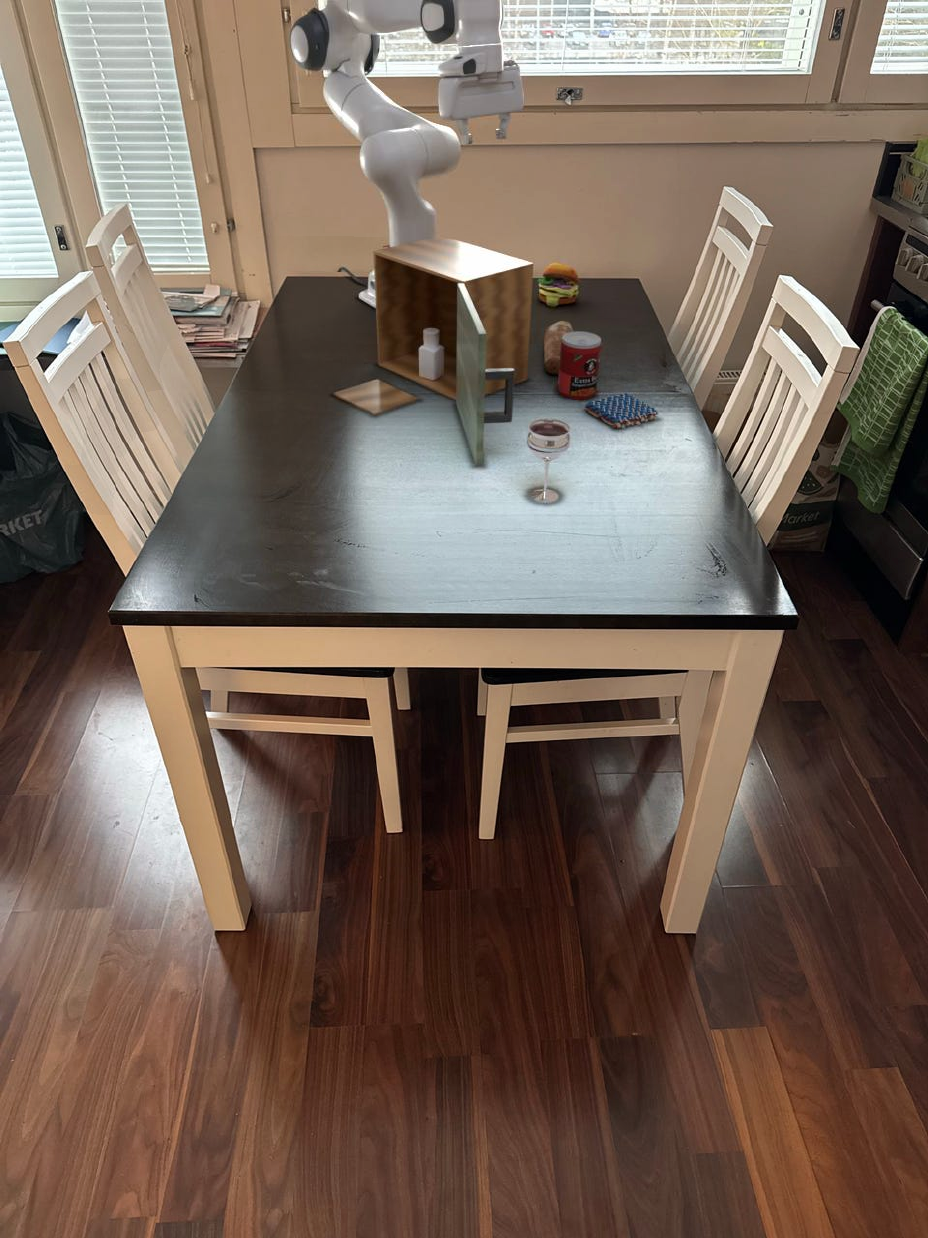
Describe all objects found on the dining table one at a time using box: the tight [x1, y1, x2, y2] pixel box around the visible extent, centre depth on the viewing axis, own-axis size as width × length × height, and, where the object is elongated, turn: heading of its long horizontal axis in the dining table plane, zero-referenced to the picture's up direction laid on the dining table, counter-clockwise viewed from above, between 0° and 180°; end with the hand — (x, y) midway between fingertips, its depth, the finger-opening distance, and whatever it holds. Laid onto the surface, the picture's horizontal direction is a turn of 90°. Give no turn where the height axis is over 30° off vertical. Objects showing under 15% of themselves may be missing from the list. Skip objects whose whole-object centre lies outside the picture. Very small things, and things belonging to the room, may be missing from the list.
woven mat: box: [584, 392, 659, 429], centre depth 174 cm, size 10×11×2 cm
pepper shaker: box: [419, 328, 444, 380], centre depth 185 cm, size 4×4×10 cm
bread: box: [543, 320, 575, 375], centre depth 196 cm, size 6×19×6 cm, turn 170°
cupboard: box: [372, 235, 534, 401], centre depth 184 cm, size 18×26×23 cm
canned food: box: [557, 330, 602, 401], centre depth 180 cm, size 8×8×11 cm
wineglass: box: [526, 418, 572, 504], centre depth 146 cm, size 7×7×12 cm
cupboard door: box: [455, 283, 515, 467], centre depth 161 cm, size 6×26×23 cm, turn 8°
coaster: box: [333, 378, 420, 417], centre depth 180 cm, size 13×11×1 cm
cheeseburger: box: [537, 262, 581, 308], centre depth 228 cm, size 10×11×10 cm
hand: (484, 141), depth 188 cm, fingers open, 8 cm apart
